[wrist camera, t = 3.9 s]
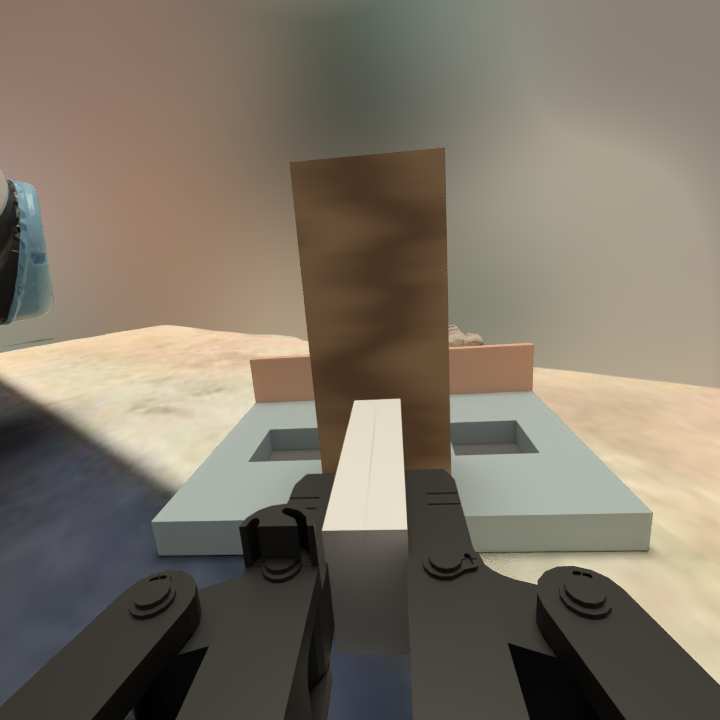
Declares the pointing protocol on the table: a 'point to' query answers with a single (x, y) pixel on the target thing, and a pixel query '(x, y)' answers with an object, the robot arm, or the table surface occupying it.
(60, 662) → the robot arm
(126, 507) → the table surface
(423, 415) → the walnut block
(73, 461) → the table surface
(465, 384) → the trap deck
